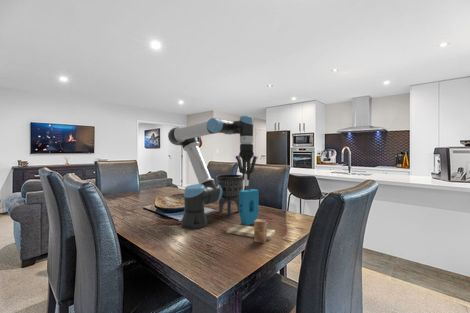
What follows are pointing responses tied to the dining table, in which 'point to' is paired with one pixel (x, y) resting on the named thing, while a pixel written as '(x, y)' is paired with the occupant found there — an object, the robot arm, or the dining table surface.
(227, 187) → the planter
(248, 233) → the board
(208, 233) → the dining table surface
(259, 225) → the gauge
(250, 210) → the block
